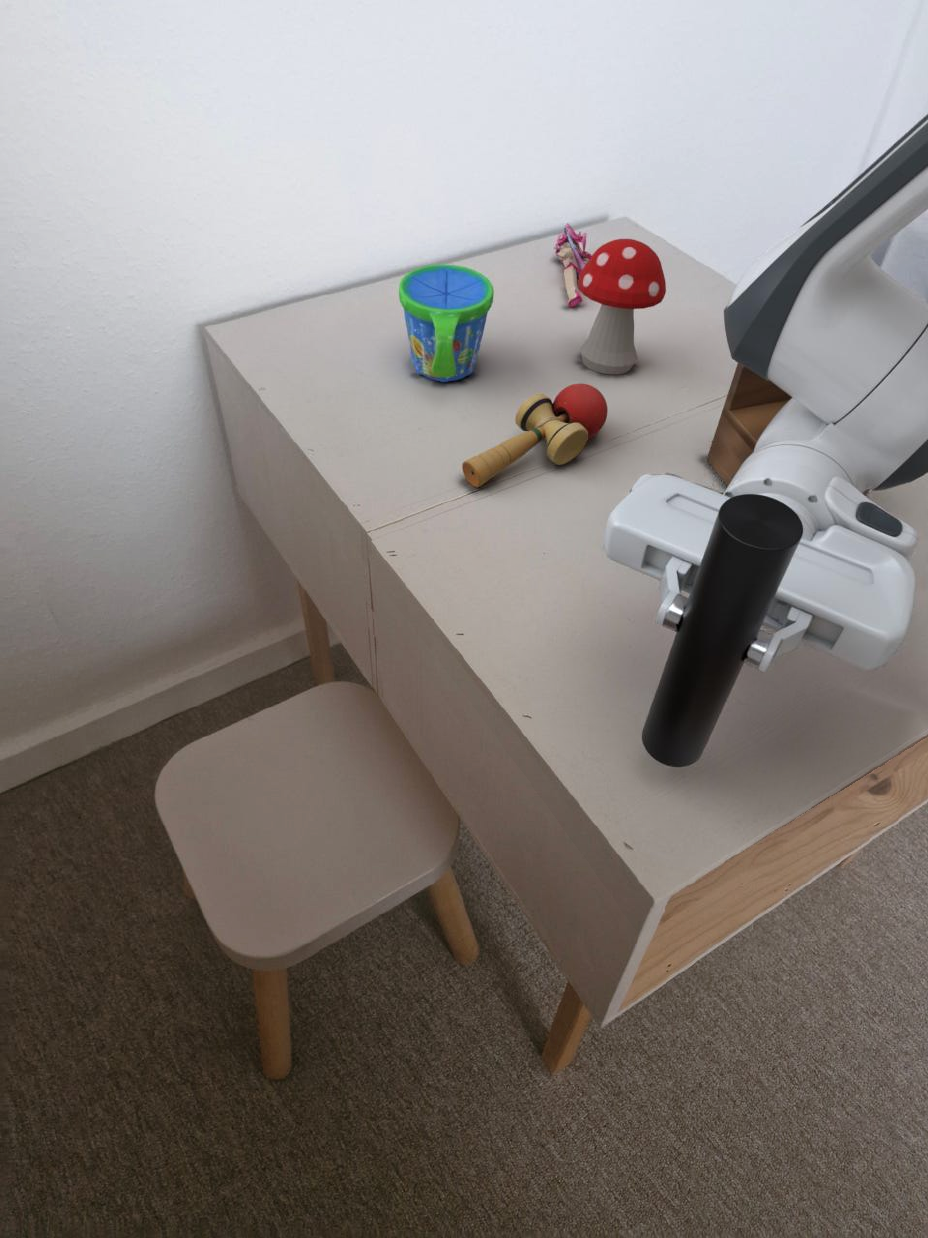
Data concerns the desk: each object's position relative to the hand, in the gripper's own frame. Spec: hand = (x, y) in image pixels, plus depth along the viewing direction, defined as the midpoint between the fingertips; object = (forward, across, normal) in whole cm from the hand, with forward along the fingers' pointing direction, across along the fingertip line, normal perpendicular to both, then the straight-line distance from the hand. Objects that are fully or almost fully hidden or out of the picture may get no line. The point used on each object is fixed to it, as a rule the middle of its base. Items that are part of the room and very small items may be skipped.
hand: (711, 641), depth 53 cm
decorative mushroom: (-50, -28, +16) cm, 60 cm away
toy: (-67, -41, +16) cm, 80 cm away
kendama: (-29, -27, +16) cm, 43 cm away
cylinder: (-1, 0, +12) cm, 13 cm away
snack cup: (-38, -44, +16) cm, 60 cm away
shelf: (-40, -3, +16) cm, 43 cm away
